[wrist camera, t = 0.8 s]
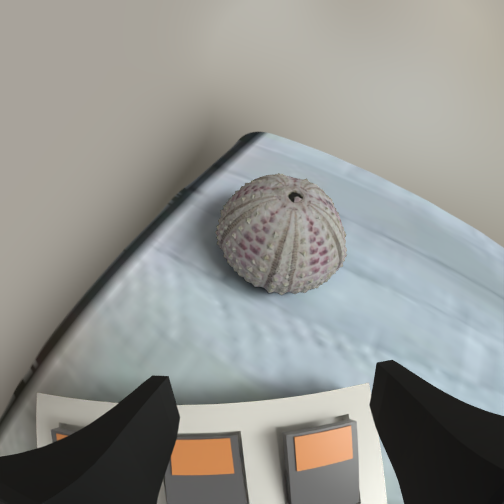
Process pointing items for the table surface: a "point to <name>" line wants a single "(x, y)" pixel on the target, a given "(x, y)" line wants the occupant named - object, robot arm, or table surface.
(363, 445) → the rocker switch panel
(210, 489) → the rocker middle
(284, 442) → the rocker
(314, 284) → the sea urchin shell
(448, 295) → the table surface
